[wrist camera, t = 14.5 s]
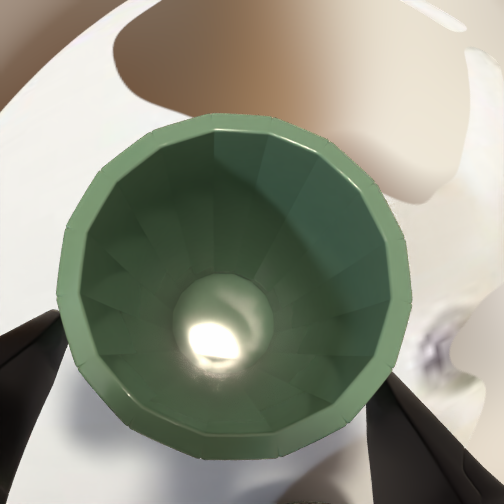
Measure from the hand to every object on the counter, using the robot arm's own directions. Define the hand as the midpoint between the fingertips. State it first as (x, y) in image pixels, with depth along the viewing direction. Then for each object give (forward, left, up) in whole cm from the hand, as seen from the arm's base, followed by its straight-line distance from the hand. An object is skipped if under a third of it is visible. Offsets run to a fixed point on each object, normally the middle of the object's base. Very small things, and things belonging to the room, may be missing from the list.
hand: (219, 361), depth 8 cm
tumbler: (+2, 0, -9) cm, 10 cm away
